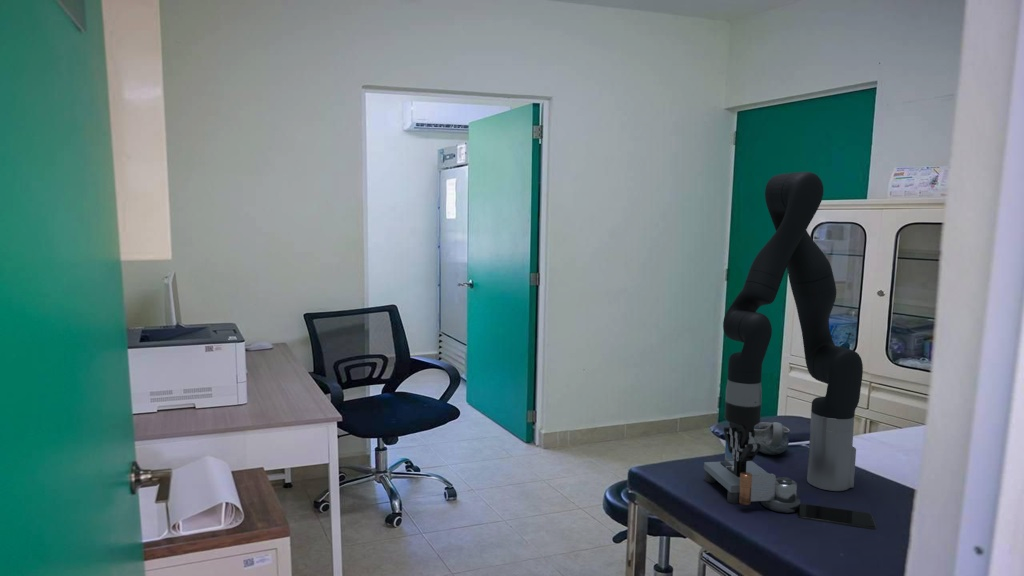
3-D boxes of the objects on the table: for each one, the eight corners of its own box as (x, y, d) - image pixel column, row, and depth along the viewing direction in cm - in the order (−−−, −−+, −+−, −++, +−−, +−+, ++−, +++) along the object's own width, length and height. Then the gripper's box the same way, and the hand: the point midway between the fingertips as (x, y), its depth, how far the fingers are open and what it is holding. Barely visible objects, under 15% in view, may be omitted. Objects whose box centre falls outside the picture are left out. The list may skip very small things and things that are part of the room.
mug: (779, 446, 186) (781, 411, 185) (800, 463, 174) (803, 425, 172) (744, 446, 185) (746, 411, 184) (764, 463, 173) (766, 425, 172)
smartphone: (796, 519, 142) (876, 531, 137) (797, 516, 142) (877, 527, 137) (795, 505, 149) (871, 516, 144) (795, 502, 149) (871, 512, 144)
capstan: (787, 495, 152) (788, 462, 152) (807, 511, 145) (809, 476, 144) (728, 499, 150) (729, 465, 150) (745, 515, 143) (747, 479, 142)
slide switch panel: (749, 476, 164) (750, 454, 164) (780, 501, 150) (782, 476, 150) (703, 479, 162) (704, 456, 162) (730, 504, 149) (731, 479, 148)
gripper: (774, 408, 143) (770, 486, 145) (744, 391, 156) (741, 464, 158) (741, 409, 142) (737, 488, 144) (714, 392, 155) (710, 465, 157)
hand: (739, 475), depth 151 cm, fingers closed
